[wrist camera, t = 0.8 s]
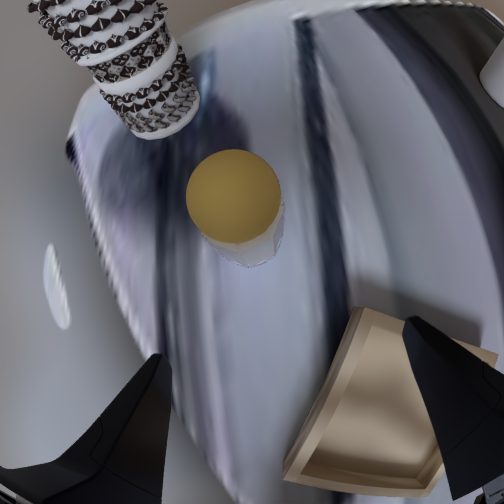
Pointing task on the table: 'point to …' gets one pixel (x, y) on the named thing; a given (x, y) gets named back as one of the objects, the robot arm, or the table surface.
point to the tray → (370, 418)
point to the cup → (253, 244)
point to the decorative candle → (127, 59)
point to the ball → (233, 196)
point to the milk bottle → (494, 75)
